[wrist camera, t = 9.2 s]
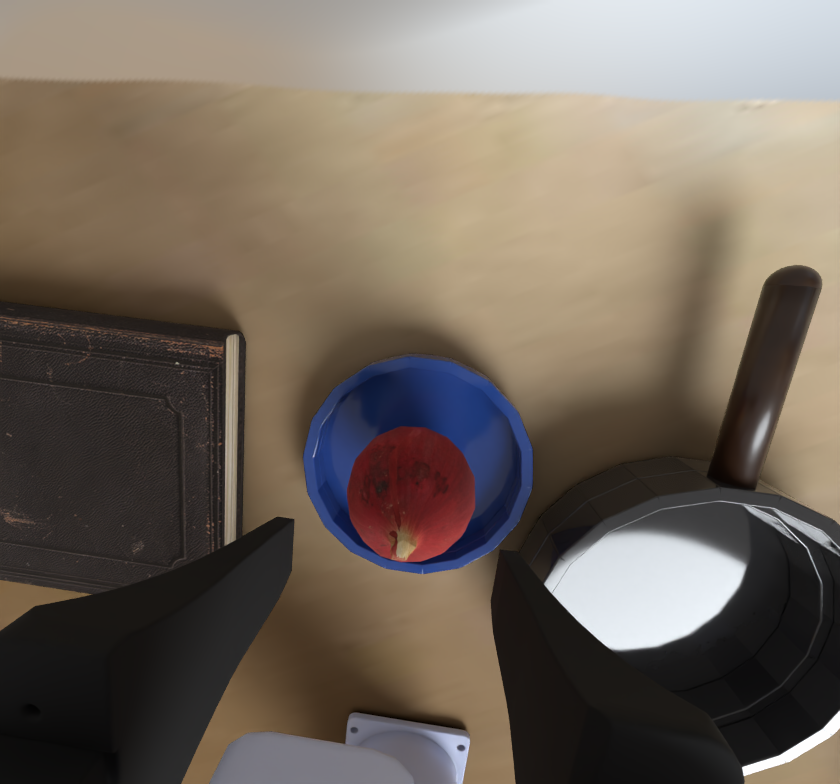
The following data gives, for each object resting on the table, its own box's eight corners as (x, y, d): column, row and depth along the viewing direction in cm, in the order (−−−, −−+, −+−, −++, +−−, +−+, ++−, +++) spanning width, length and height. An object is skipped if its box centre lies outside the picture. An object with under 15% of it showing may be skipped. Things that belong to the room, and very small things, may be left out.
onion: (347, 434, 21) (290, 506, 13) (442, 392, 20) (440, 443, 13) (393, 523, 22) (365, 638, 14) (486, 485, 21) (510, 587, 14)
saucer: (508, 566, 23) (513, 588, 21) (308, 537, 23) (297, 556, 21) (545, 368, 20) (555, 374, 18) (320, 340, 21) (308, 343, 19)
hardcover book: (241, 586, 24) (220, 615, 22) (-102, 534, 25) (-157, 556, 23) (246, 329, 21) (222, 332, 18) (-152, 280, 22) (-221, 277, 19)
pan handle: (731, 491, 19) (760, 509, 17) (693, 486, 19) (719, 504, 17) (801, 270, 17) (842, 265, 15) (758, 265, 17) (794, 260, 15)
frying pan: (758, 724, 24) (819, 805, 20) (491, 682, 24) (500, 752, 20) (853, 477, 20) (950, 518, 16) (538, 436, 21) (560, 465, 17)
